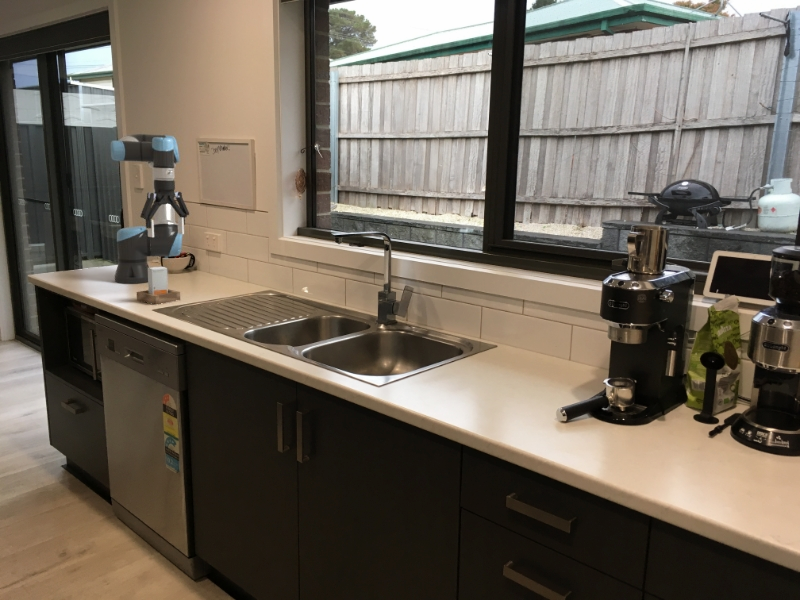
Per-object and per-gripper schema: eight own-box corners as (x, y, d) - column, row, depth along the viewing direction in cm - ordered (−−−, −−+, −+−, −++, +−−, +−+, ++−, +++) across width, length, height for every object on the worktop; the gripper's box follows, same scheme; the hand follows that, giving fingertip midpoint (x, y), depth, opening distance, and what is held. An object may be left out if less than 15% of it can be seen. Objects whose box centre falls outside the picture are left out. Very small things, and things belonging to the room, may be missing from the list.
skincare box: (152, 300, 239) (151, 269, 237) (148, 298, 242) (147, 267, 240) (168, 299, 243) (167, 268, 241) (164, 297, 246) (163, 266, 244)
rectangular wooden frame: (137, 300, 241) (136, 292, 241) (161, 296, 250) (161, 287, 250) (155, 304, 236) (155, 296, 235) (180, 300, 245) (180, 291, 244)
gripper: (141, 180, 229) (144, 239, 234) (197, 179, 250) (199, 233, 254) (128, 179, 233) (131, 237, 238) (184, 178, 254) (186, 231, 258)
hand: (166, 235), depth 246 cm, fingers open, 13 cm apart
